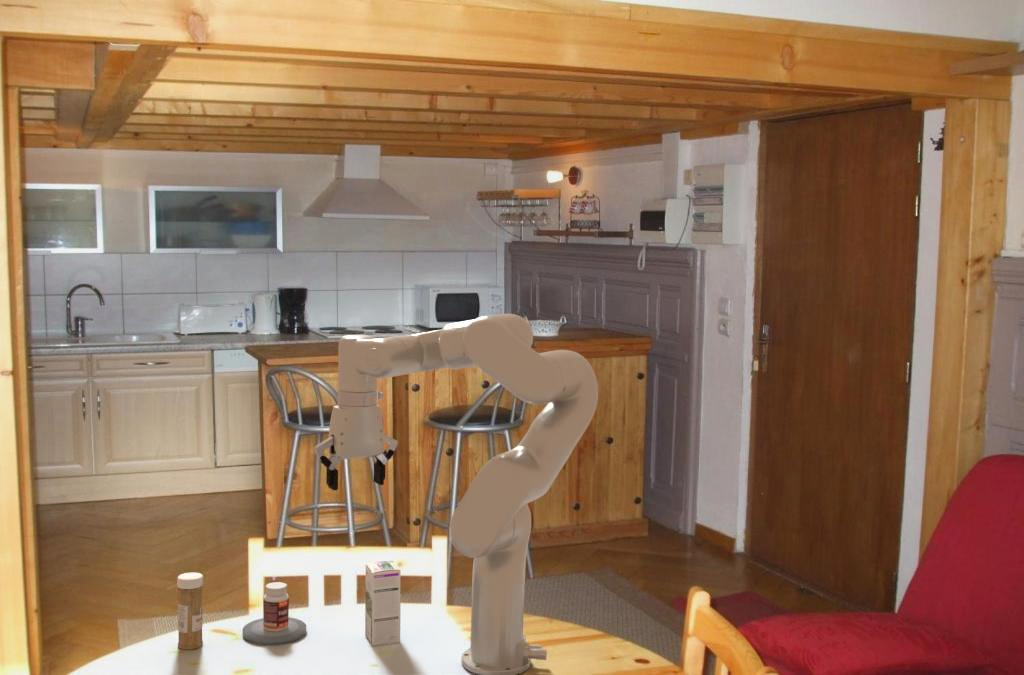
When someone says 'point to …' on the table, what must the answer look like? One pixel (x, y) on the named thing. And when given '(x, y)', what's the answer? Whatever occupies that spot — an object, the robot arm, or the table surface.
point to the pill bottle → (275, 607)
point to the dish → (274, 633)
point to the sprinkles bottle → (190, 610)
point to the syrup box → (382, 603)
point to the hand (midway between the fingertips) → (356, 486)
